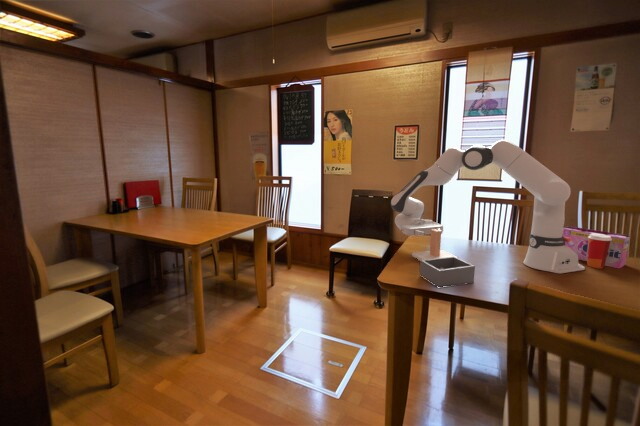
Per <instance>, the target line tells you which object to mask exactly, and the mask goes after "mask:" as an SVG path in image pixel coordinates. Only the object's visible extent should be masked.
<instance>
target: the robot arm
mask: <svg viewBox="0 0 640 426" xmlns="http://www.w3.org/2000/svg"><path fill="white" fill-rule="evenodd" d="M490 164H494V165H496V166H497V167H499V169H501V170H502V171H504V172H505V173H506V174H507V175H509V176H510V177H511V178H513V179H514V180H515V181H516V182H517V183H518V184H520V185H521V186H522V187H523V188H525V189H526V190H527V191H528V192H529V193H530V194H532V195H533V197H534V198H533V199H534V201H533V215H532V225H531V231H530V233H529V239H528V243H529V245H528V249H527V251H526V255H525V258H524V260H523V264H524V265H525V266H527V267H529V268H532V269H535V270H540V271H543V272H544V271H545V272H550V273H555V274H565V273H566V274H567V273H571V272H573V273H574V272H579V271H585V269H586V268H585V266H583V265H582V264H580V263H579V259H578V255H577V254H576V253H575V252H574V251H572V250H571V249H570V248H569V247H567V246H566V245H565V241H566V242H570V241H571V238H568V237H563V236H562V235H563V228H565V227H564V226H565V219H566V218H565V217H566V216H565V214H566V213H565V211H566V210H565V208H566V202H567V201H568V200H569V198H570V196H571V191H572V190H571V187H570V185H569V183H568V182H566V181H565V180H564V179H563V178H561V177H560V176H558V175H557V174H556V173H554V172H553V171H552V170H550V169H549V168H548V167H547V166H545V165H543V164H542V163H541V162H540V161H539V160H538V159H536V158H535V157H533V156H531V155H530V154H529V153H528V152H527V151H525V150H524V149H522V148H521V147H520V146H518V145H517V144H514V143H513V142H512V141H509V140H507V139H500V140H497V141H496V142H494V143H493V144H492V145H491V146H486V145H483V144H474V145H472V146H470V147H468V148H467V149H465V150H462V149H460V148H458V147H454V146H453V147H449V148H448V149H447V150H445V151H444V152H443V153H442V154H441V155H440V156H439V157H438V159H436V161H435V162H434V164H432V165H431V166H430V167H429V168H427V169H425V170H424V169H423V170H421V171H419V172H418V173H417V174H416V175H415V176H414V177H412V178H411V180H410V181H409V182H408V183H407V184H406V185H405V186H404V187H403V188H402V189H400V190H399V192H397V193H396V194H394V195H393V196H392V198H391V200H390V207H391V209H392V210H393V211H394V212H396V213H398V214H397V215H396V216H395V218H394V223H395V225H396V227H397V228H398V229H399V231H401V232H402V234H403V235H406V236H408V237H411V236H412V237H413V236H416V237H417V236H418V237H419V236H421V237H424V236H425V235H431V229H437V230H440V231H441V235H443V233H444V225H442V224H441V223H438V222H435V221H433V220H432V219H427V218H426V219H424V218H423V217H424V215H425V211H426V209H425V206H426V205H425V203H424V201H421V200H419V199H417V198H413V197H411V196H412V195H413V194H415V193H416V192H417V190H419V189H420V188H422V187H424V186H443V185H446V184H448V183H449V182H450V181H451V180H452V179H453V178H454V177H455V175H456V174H457V173H458V171H459V170H460V169H461V168H464V167H465V168H466V169H468V170H471V171H477V170H481V169H483V168H486V166H489V165H490Z"/></svg>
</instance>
